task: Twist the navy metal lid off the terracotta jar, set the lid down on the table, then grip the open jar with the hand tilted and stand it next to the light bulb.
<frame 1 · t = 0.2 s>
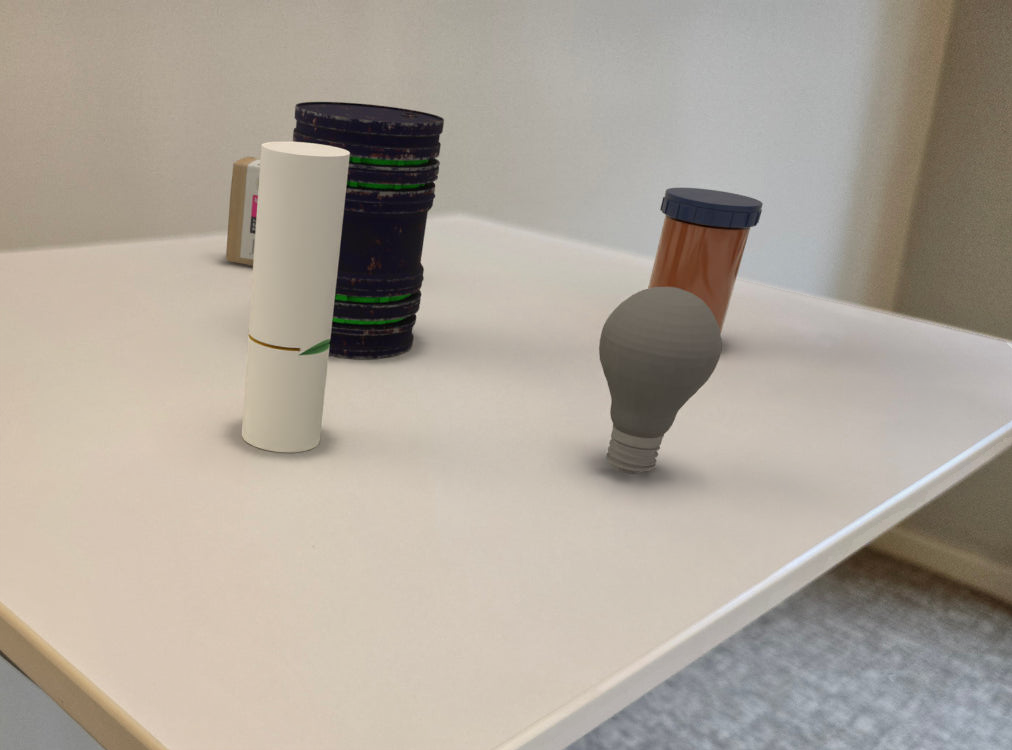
tube: (280, 440, 59), on the table
jar: (676, 339, 83), on the table
light bulb: (627, 472, 59), on the table
ink box: (286, 270, 93), on the table
storage jar: (344, 339, 76), on the table
jar lid: (712, 202, 78), point 10 cm above the table, screwed on, not yet turned
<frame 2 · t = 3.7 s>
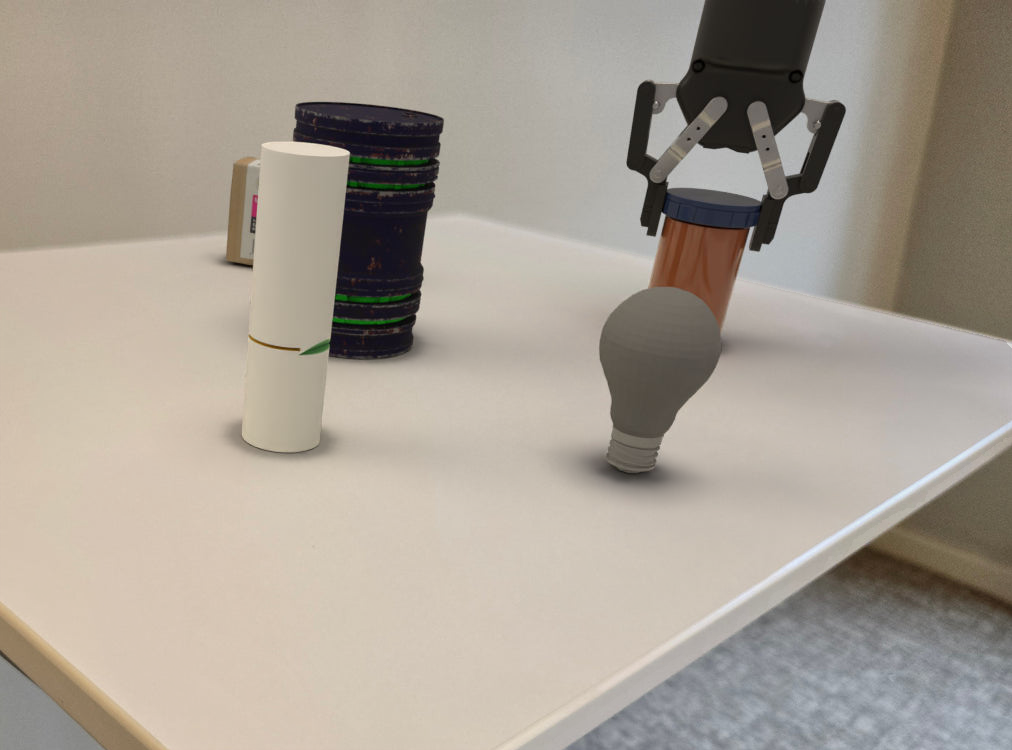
hand: (701, 241, 79), 7 cm above the table, tool pointing down, fingers closed on jar lid, 6 cm apart
jar lid: (712, 202, 78), point 10 cm above the table, screwed on, not yet turned, touching gripper
everything else where it was.
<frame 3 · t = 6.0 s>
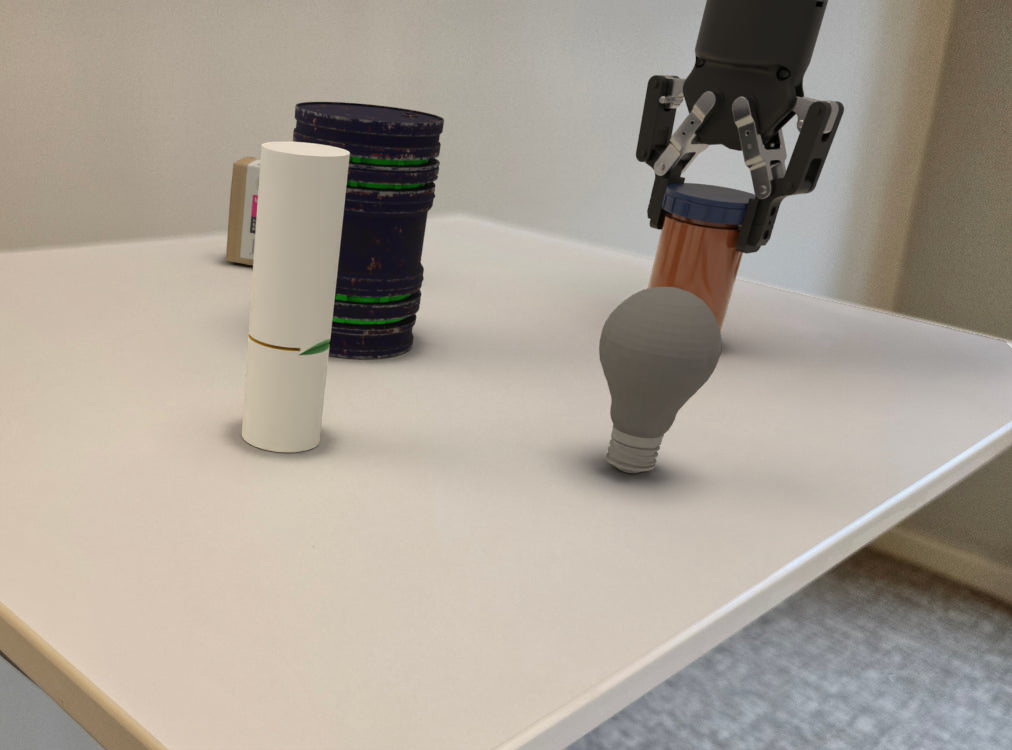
hand: (702, 239, 79), 8 cm above the table, tool pointing down, fingers closed on jar lid, 6 cm apart
jar lid: (713, 198, 78), point 11 cm above the table, off its thread, touching gripper
everything else where it was.
when the fingers open (0 cm above the table, at t = 14.1 s): jar lid drops 2 cm, point 1 cm above the table.
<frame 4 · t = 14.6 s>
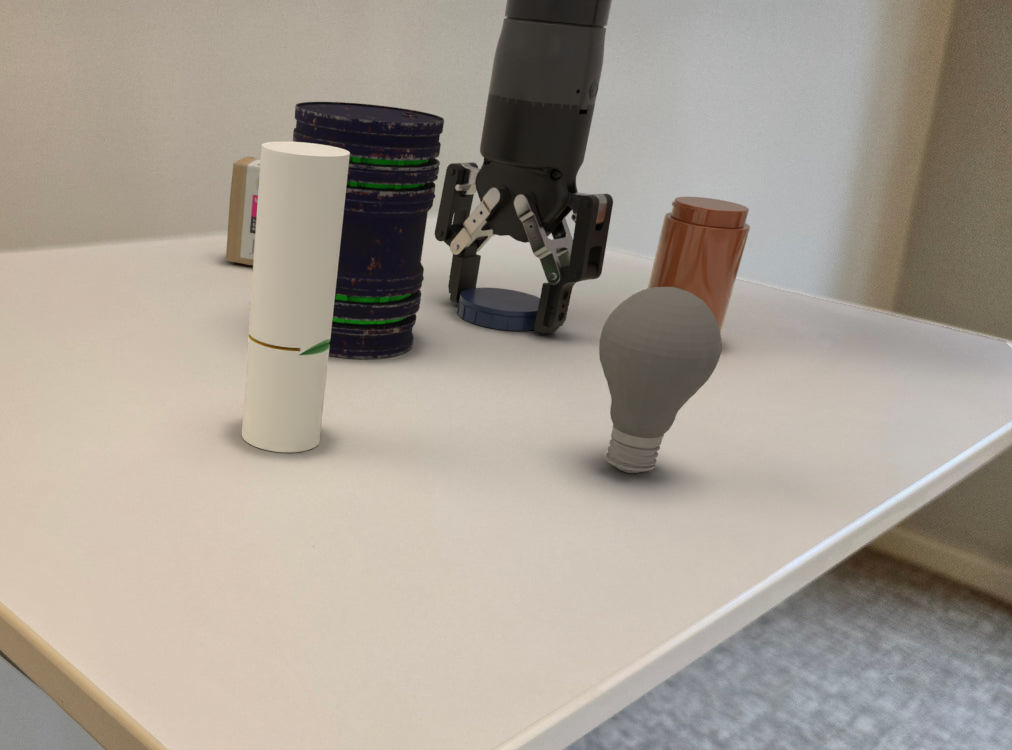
hand: (502, 316, 84), 0 cm above the table, tool pointing down, fingers open, 8 cm apart
jar lid: (502, 304, 84), point 1 cm above the table, off its thread
everything else where it was.
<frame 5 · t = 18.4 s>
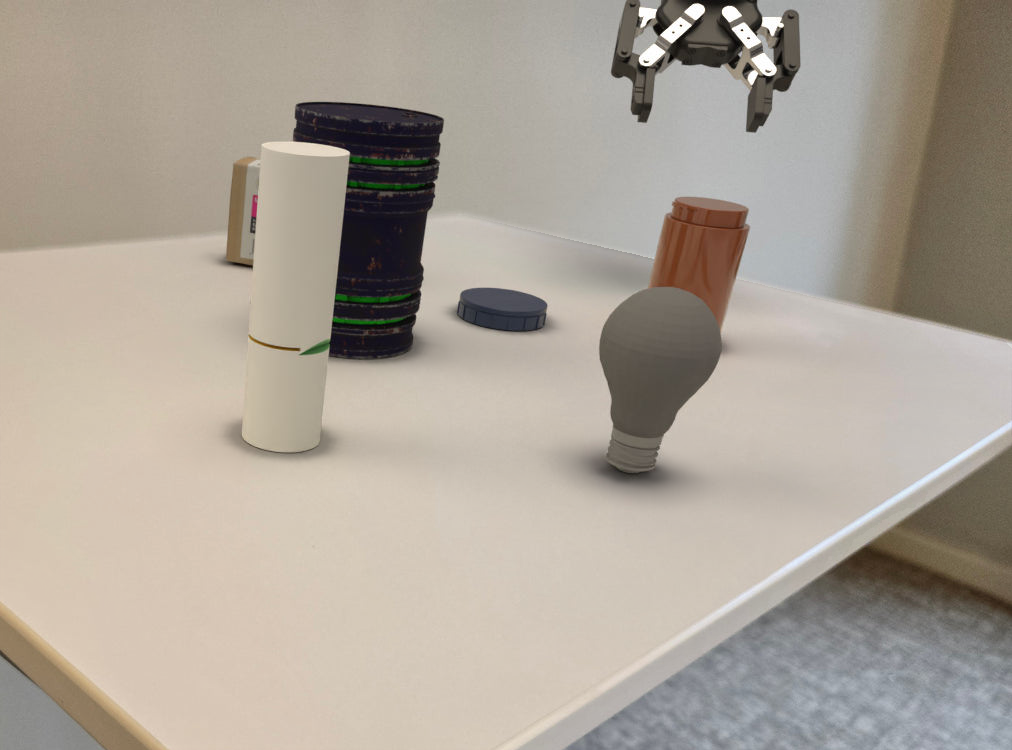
hand: (699, 121, 86), 15 cm above the table, tool tilted 45°, fingers open, 8 cm apart
nothing on the table moved.
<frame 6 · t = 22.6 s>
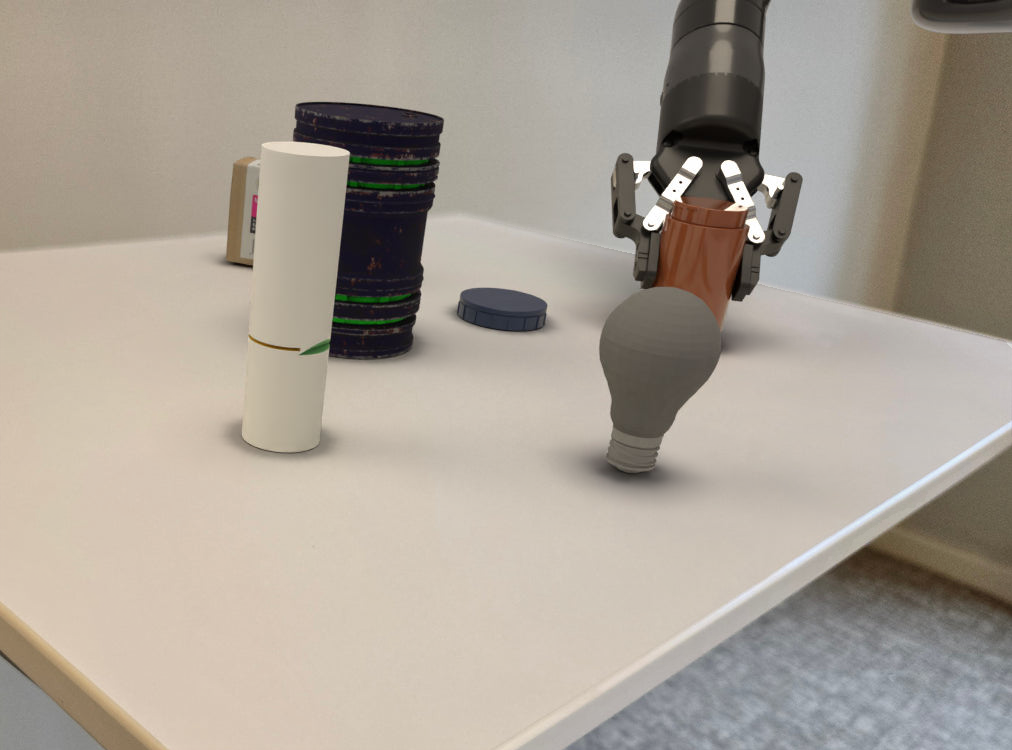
hand: (694, 289, 79), 4 cm above the table, tool tilted 45°, fingers closed on jar, 6 cm apart
jar: (676, 339, 83), on the table, touching gripper
everything else where it was.
when the fingers open (4 cm above the table, at t = 31.0 s): jar stays where it is, on the table.
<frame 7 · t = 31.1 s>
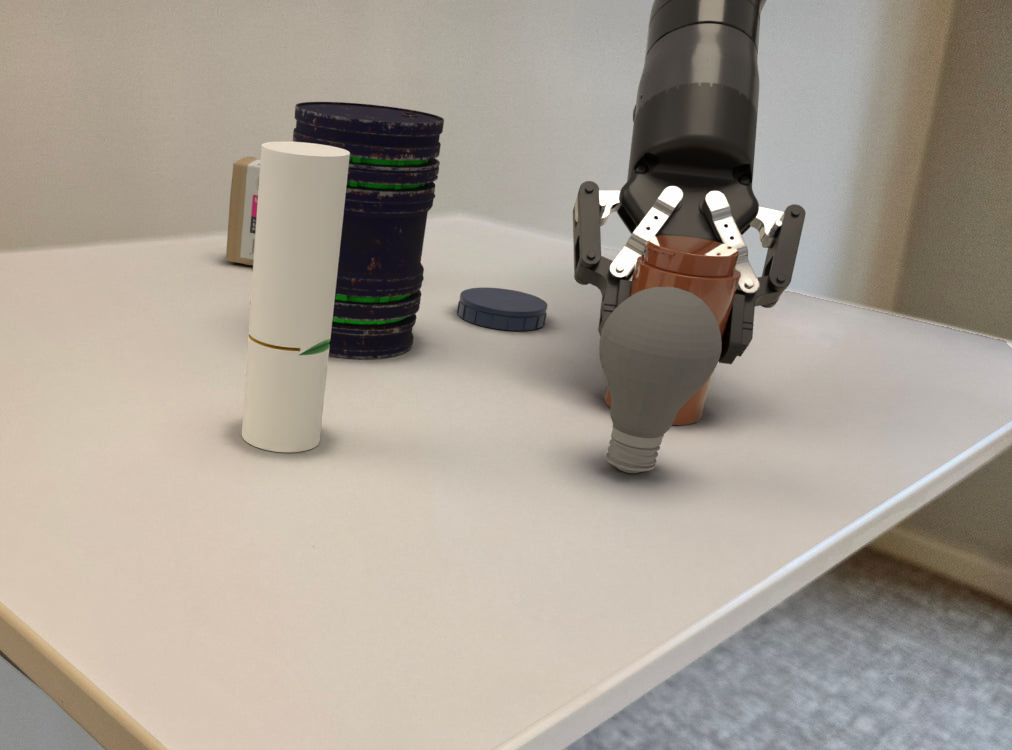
hand: (672, 349, 65), 4 cm above the table, tool tilted 45°, fingers open, 6 cm apart
jar: (652, 407, 68), on the table
everything else where it was.
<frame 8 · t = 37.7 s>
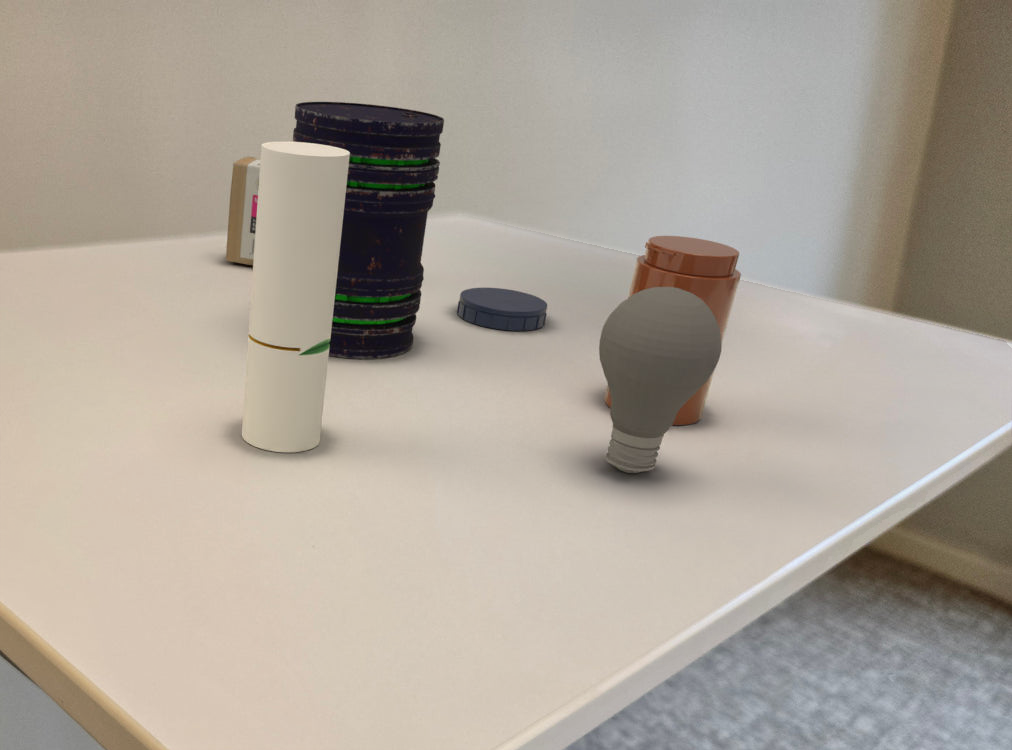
nothing on the table moved.
at the end: jar lid came off its thread; jar lid point 1.1 cm above the table; jar inside the target area on the table beside the light bulb (0.3 cm from its centre), on the table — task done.
